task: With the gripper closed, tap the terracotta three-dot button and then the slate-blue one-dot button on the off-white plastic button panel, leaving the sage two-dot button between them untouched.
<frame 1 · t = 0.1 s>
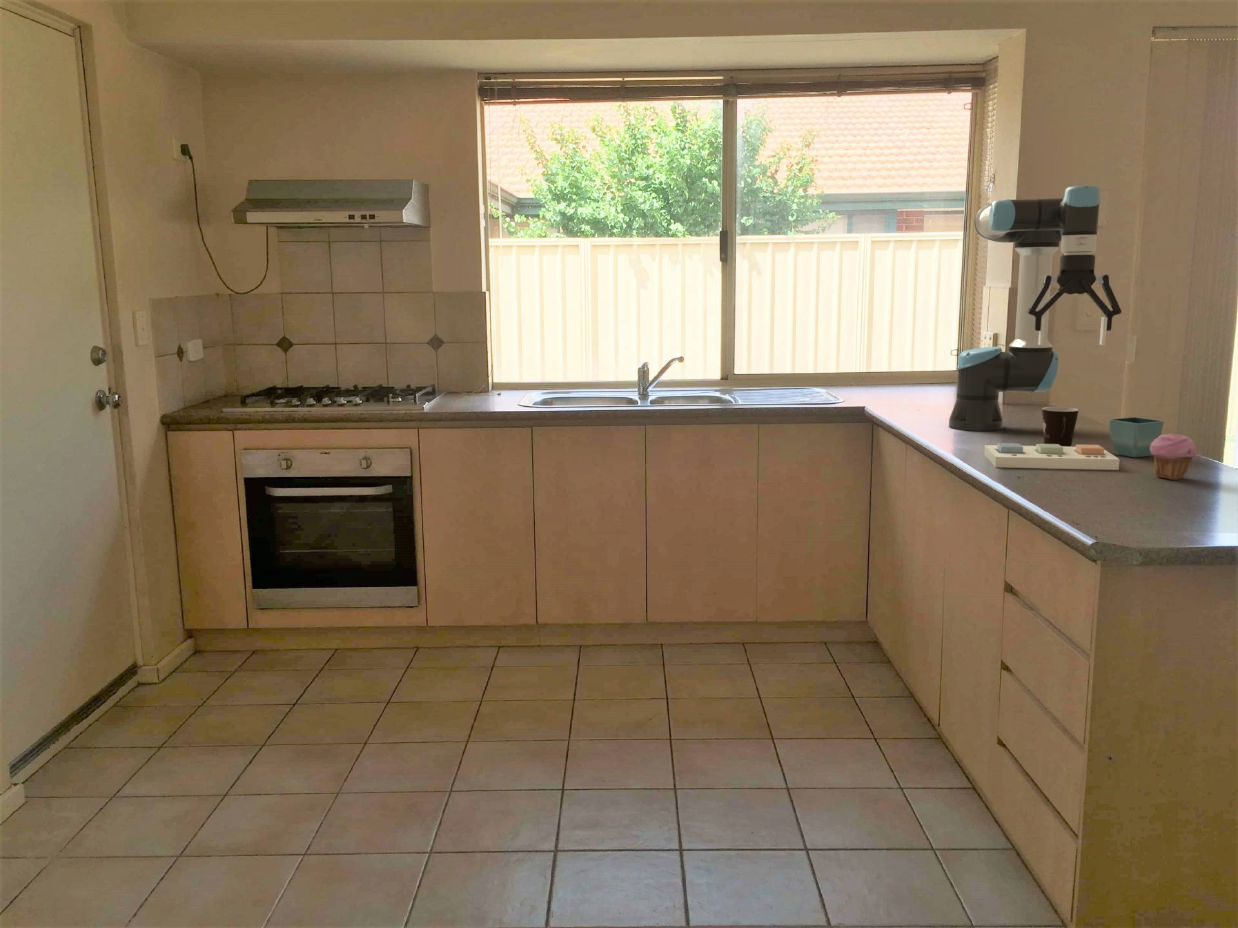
hand: (1071, 345, 235), 28 cm above the worktop, fingers open, 13 cm apart
button 2: (1049, 451, 236), point 3 cm above the worktop, slide at 0.0 cm
flower pot: (1133, 456, 243), on the worktop
cupcake: (1170, 478, 217), on the worktop
button 1: (1009, 450, 238), point 3 cm above the worktop, slide at 0.0 cm
button 3: (1089, 452, 235), point 3 cm above the worktop, slide at 0.0 cm
coffee mug: (1055, 448, 255), on the worktop
panel: (1048, 462, 237), on the worktop
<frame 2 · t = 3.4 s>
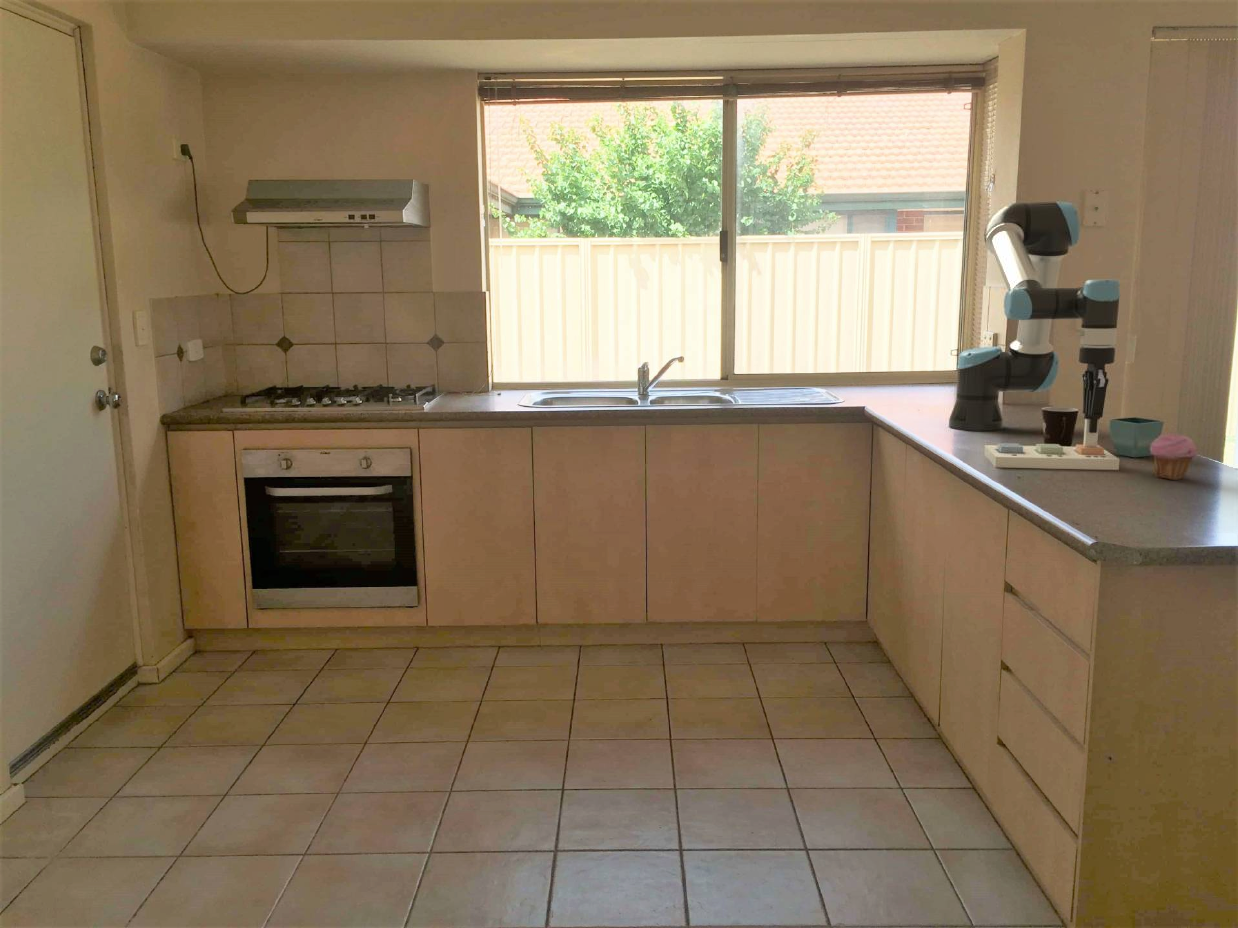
hand: (1090, 445, 234), 4 cm above the worktop, fingers closed
button 3: (1089, 452, 235), point 3 cm above the worktop, slide at 0.0 cm, touching gripper
everything else where it was.
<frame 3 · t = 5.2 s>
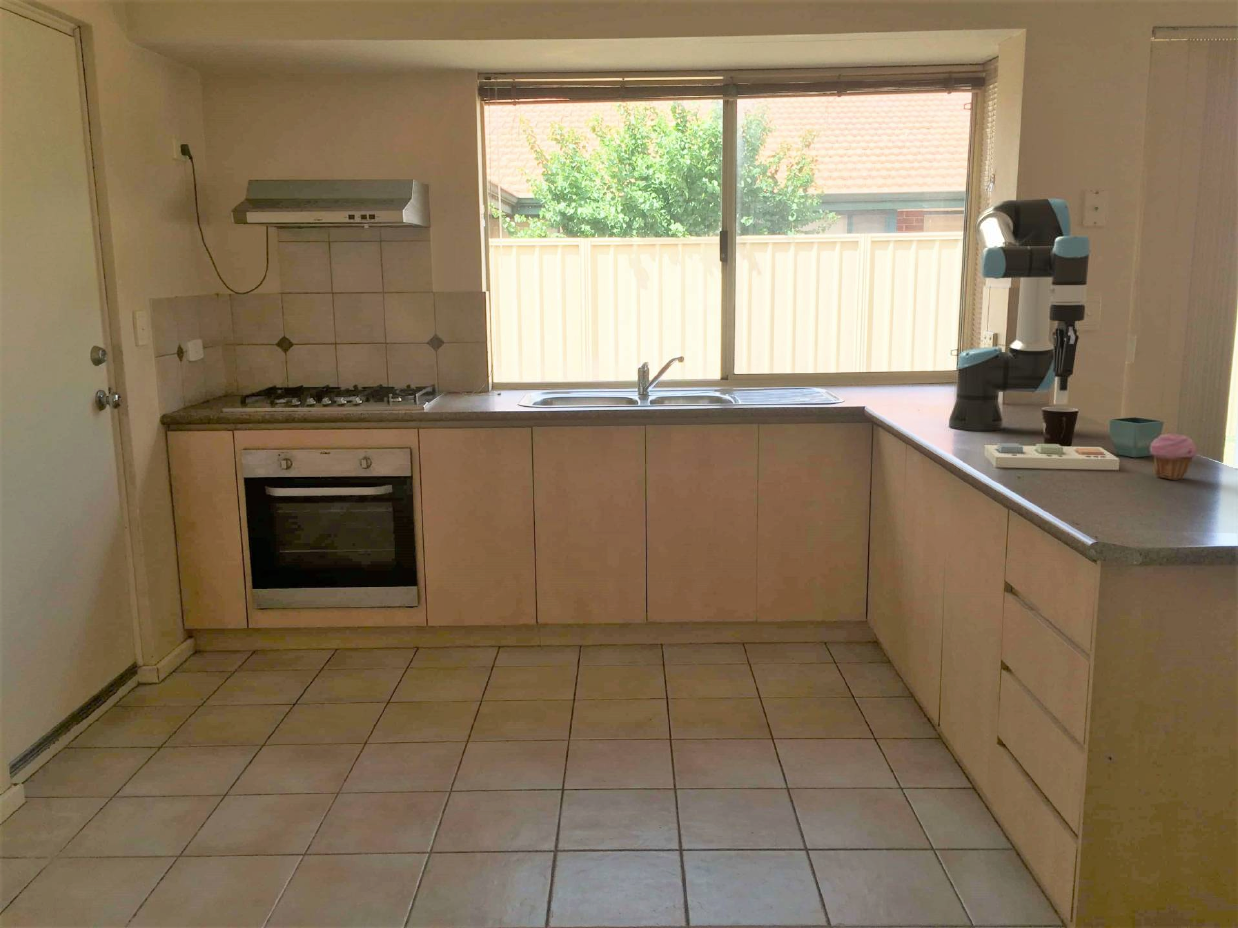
hand: (1060, 403, 234), 14 cm above the worktop, fingers closed
button 3: (1089, 455, 235), point 2 cm above the worktop, slide at 0.9 cm
everything else where it was.
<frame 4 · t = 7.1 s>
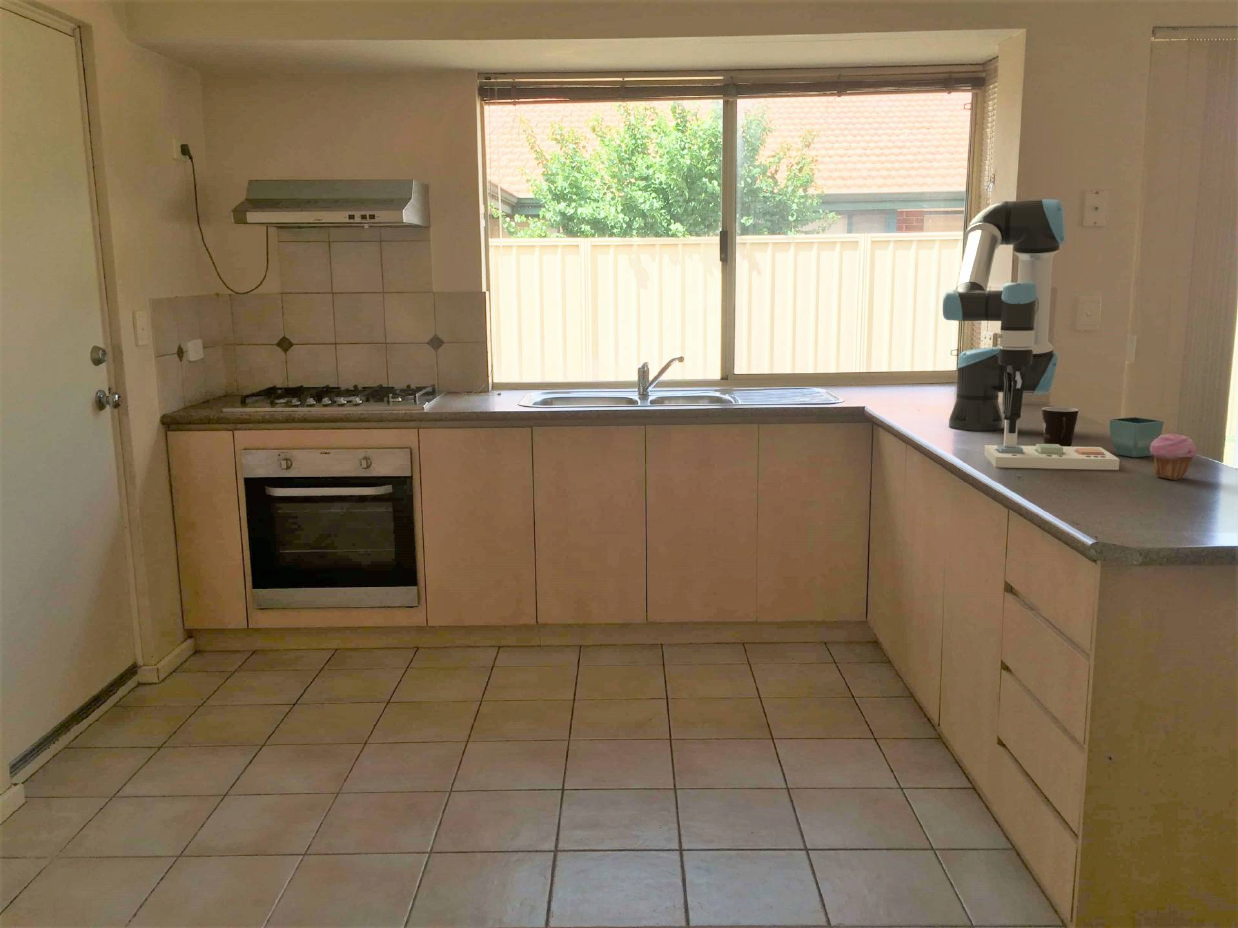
hand: (1010, 445, 238), 4 cm above the worktop, fingers closed
button 1: (1009, 452, 238), point 2 cm above the worktop, slide at 0.5 cm, touching gripper
everything else where it was.
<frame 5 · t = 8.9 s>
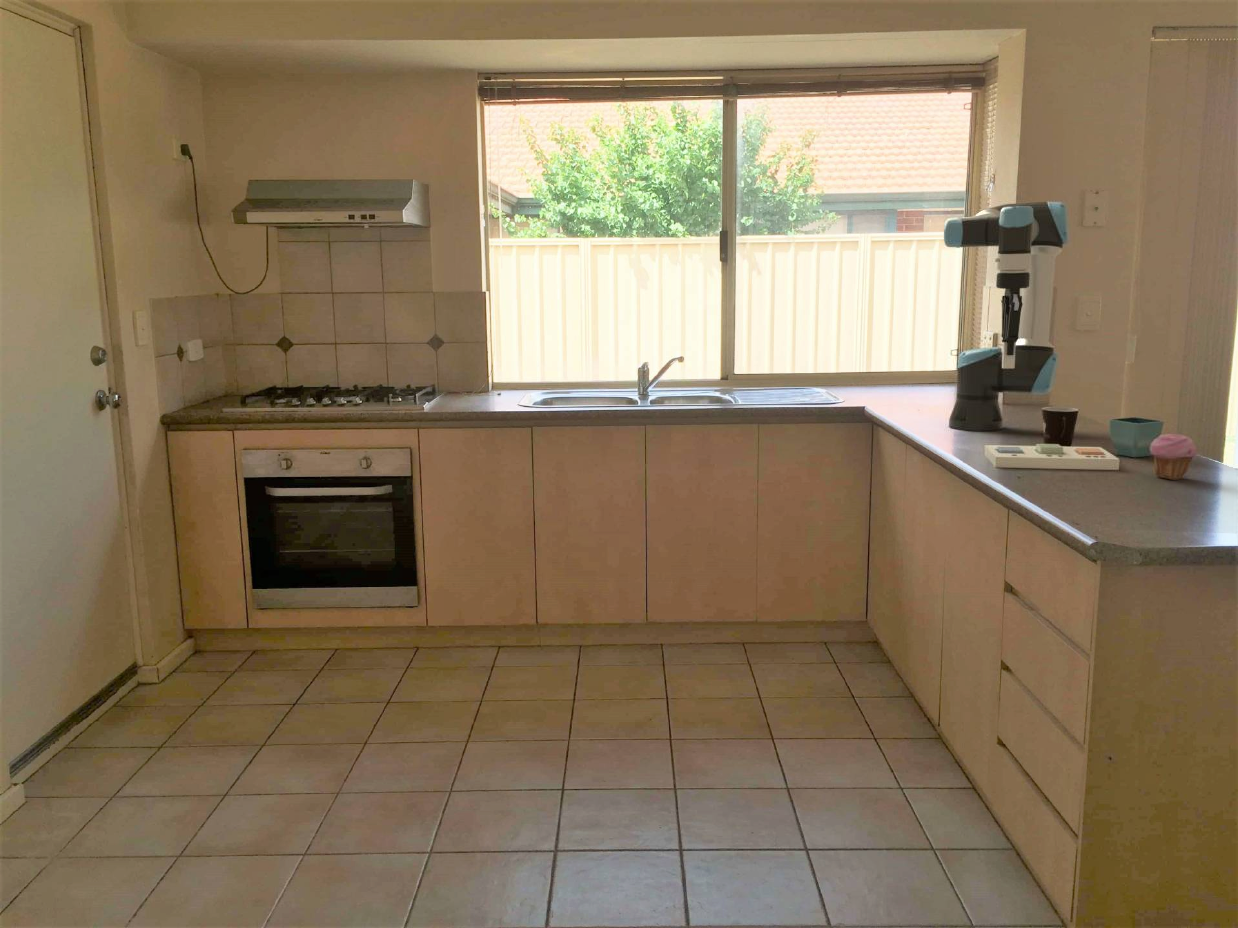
hand: (1008, 368, 244), 22 cm above the worktop, fingers closed
button 1: (1009, 454, 238), point 2 cm above the worktop, slide at 0.9 cm
everything else where it was.
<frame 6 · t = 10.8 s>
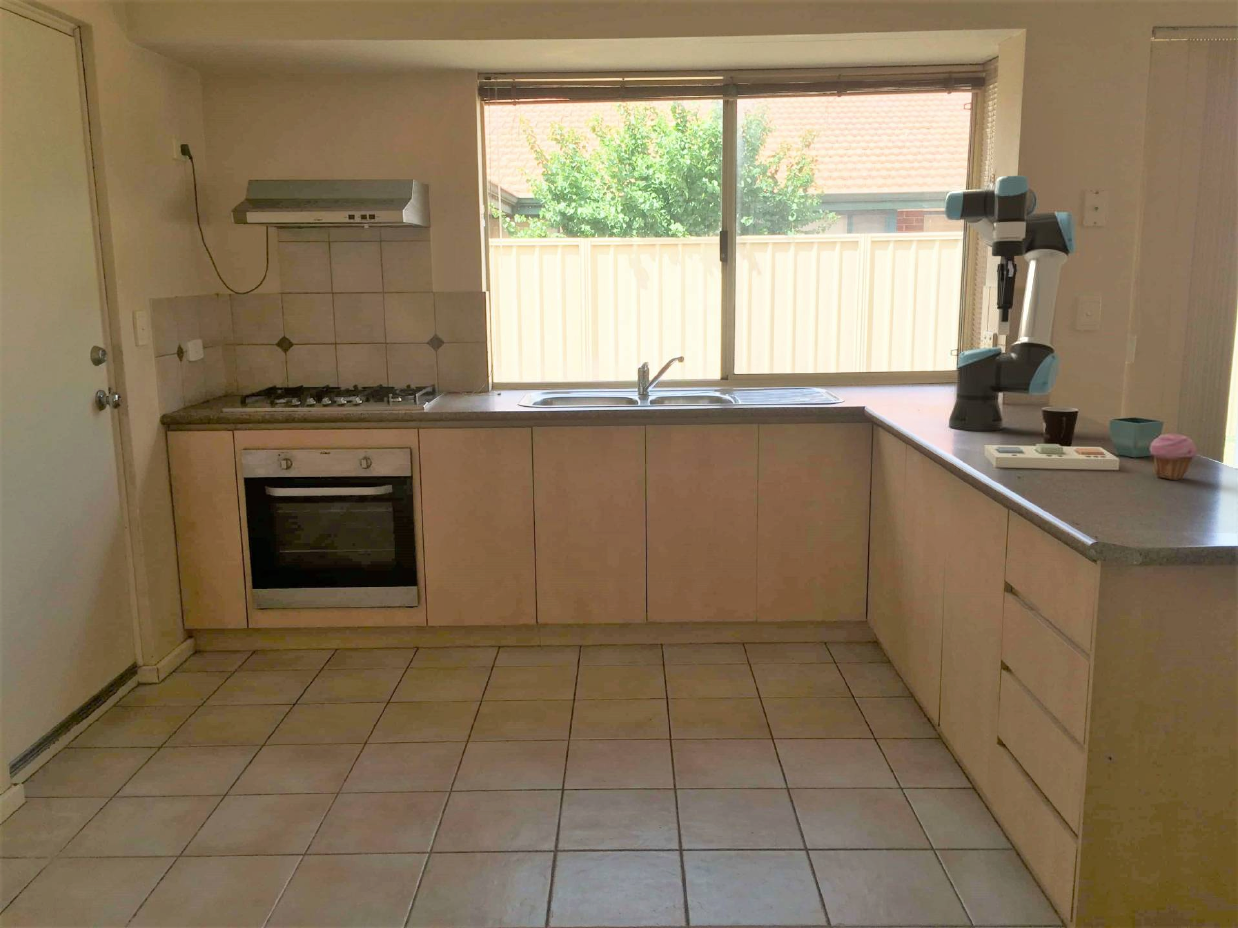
hand: (1002, 334, 250), 29 cm above the worktop, fingers closed
nothing on the worktop moved.
at the end: button 3 slide at 0.9 cm; button 1 slide at 0.9 cm; button 2 slide at 0.0 cm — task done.
